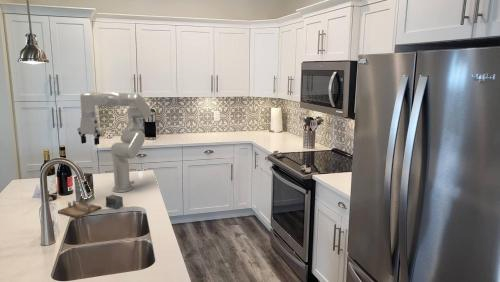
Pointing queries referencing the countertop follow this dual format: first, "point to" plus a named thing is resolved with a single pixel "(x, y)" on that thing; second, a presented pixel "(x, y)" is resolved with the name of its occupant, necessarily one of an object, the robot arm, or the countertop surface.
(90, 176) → the coffee box
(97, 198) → the countertop surface
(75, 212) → the pin tray
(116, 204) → the dark grey block
